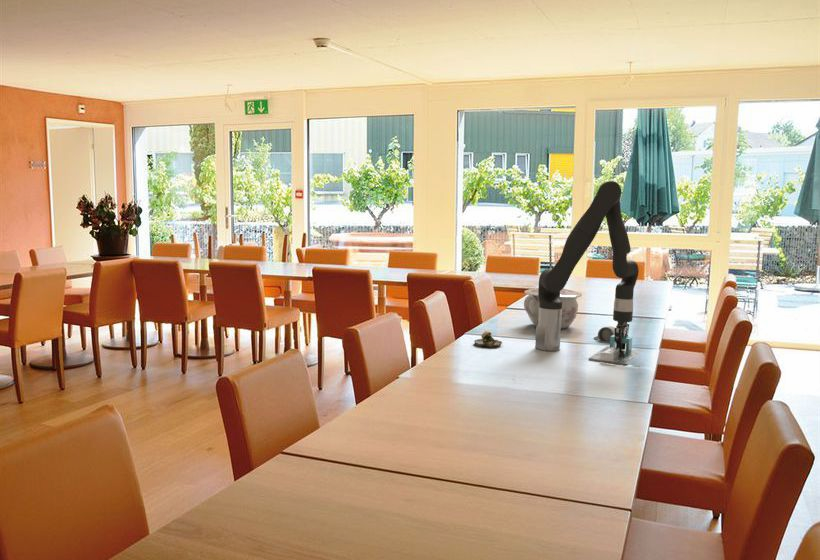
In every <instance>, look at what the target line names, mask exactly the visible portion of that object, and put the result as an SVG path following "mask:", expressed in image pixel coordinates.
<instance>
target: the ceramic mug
mask: <svg viewBox="0 0 820 560" xmlns="http://www.w3.org/2000/svg"><path fill="white" fill-rule="evenodd" d="M615 328H616V326H611V325H610V326H609V325H608V326H603V327H601V328H600V329H599V330H598V332H597V336H594V337H593V340H597V341H599V342H601V341H606V342H609V343H610V337H611V336H612V335H615V330H614V329H615Z"/></svg>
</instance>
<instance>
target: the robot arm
mask: <svg viewBox="0 0 820 560" xmlns="http://www.w3.org/2000/svg"><path fill="white" fill-rule="evenodd" d="M621 197H622V188H621V186H620V184H619V183H618V182H617V181H614V180H607V181H605V182H603V183H601V185H600V186H599V187H598V190H597V192H596V193H595V196H594V198H593V199H592V201H591V203H590V205H589V206H588V208H587V209H586V210H585V212H584V213H583V214H582V216H581V217H580V218H579V220H578V221H577V223H576V224H575V225H574V227H573V229H572V230H571V231H570V232H569V234H568V236H567V238H566V240H565V243H564V246H563V248H562V252H561V255H560V257H559V259H558V261H557V262H556V263H555V265H554V266H553V267H552V268H546V269H544V270H543V271H541V273H540V275H539V278H538V288H539V289H538V299H539V322H538V325H537V326H536V325H535V327H536V328H535V329H536V330H535V345H534V347H535V348H536V349H538V350H542V351H544V352H545V351H550V352H551V351H552V352H555V351H560V350H561V348H560V347H561V331H562V329H561V317H562V301H561V298H560V291H561V290H562V289H565V287H566V285H567V283H568V281H569V280H570V277H571V275H572V273H573V271H574V269H575V268H576V266H577V264H578V263H579V262H580V260H581V259H582V257H583V256H584V254H585V253H586V252H587V250H588V248H589V247H590V245H591V244H592V243H593V241H594V239H595V238H596V235H597V234H598V232H599V230H600V228H601V225H602V223H603V221H604V219H605V220H606V224H607V229H608V235H609V238H610V239H609V241H610V244H611V249H612V271H613V273H614V275H615V276H616V277H617V278H618V279H621V281H620V282H618V283H617V284H616V286H615V292H614V301H613V311H612V313H613V314H612V320H613V321H615V322H617V325H616V326H615V329H614V330H615V342H616V348H619V352H621V351H622V350H624V349H626V344H625V343H622V342H623V338H624V337H625V336H628V337H629V331H630V330H629V329H630V323H631V322H633V314H634V291H635V286H636V283H637V280H638V276H639V273H640V270H639V269H640V268H639V265H638V263H637V262H636V261H635V260H632V259H628V254H629V253H631V244H630V239H629V235H628V231H627V228H626V226H625V223H624V220H623V216H622V210H621ZM618 337H620V339H618Z"/></svg>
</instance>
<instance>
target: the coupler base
mask: <svg viewBox="0 0 820 560" xmlns="http://www.w3.org/2000/svg"><path fill="white" fill-rule="evenodd" d="M641 352H642V351H641V350H636V349H632V350H631V352H630V353H629V354H626V348H625V349H624V350H622V351H621V352H619V348H615V347H611V348H610V346H605V347H604V348H602V349H601V350H599V351H597V352H595V354H593V355H591V356H590V357H588V361H589V362H595V363H596V362H597V363H602V364H609V365H615V366H620V367H621V366H622V367H626V366H627V365H628V362H630V361H631V360H632V359H633V358H634V357H636V356H637V355H638V354H640V353H641Z"/></svg>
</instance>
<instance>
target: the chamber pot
mask: <svg viewBox="0 0 820 560" xmlns="http://www.w3.org/2000/svg"><path fill="white" fill-rule="evenodd" d="M538 289H539V287H535V288H529V289H526V290H524V294H526V295H527V296H526V297H525V298H524V300H523V301H524V302H523V308H524V311H525V312H526V314H527V316H528V318H529V319H530V322H531V323H532V324H533V325H534V326H535V327H536V326H537V325H538V322H539V299H538ZM582 295H583V294H582V293H581V292H578V291H575V290H571V289H567V288H563V289H562V290H561V291H560V298H561V301H562V317H561V330H563V329H567V328H568V327H570V326H571V325H572V323H573V322H574V321H575V319H576V318H577V314H578V312H579V303H578V301H577V298H579V297H582Z"/></svg>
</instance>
